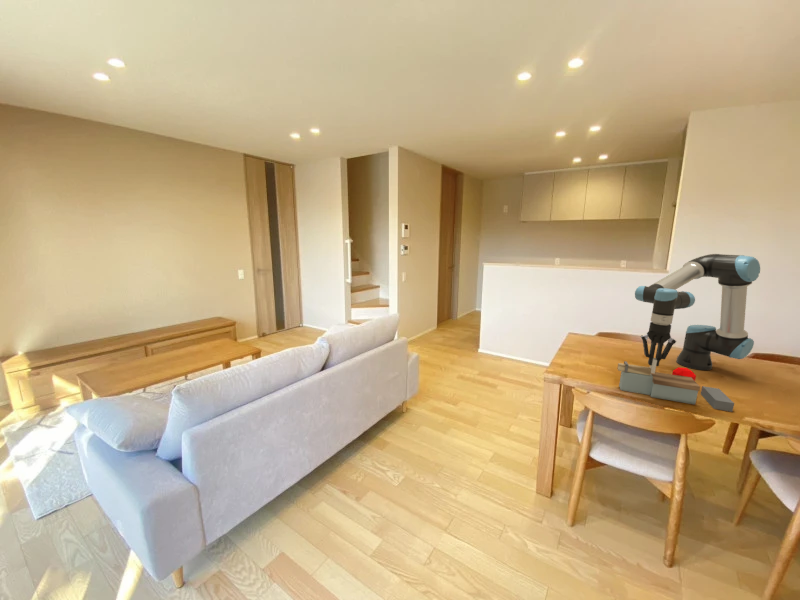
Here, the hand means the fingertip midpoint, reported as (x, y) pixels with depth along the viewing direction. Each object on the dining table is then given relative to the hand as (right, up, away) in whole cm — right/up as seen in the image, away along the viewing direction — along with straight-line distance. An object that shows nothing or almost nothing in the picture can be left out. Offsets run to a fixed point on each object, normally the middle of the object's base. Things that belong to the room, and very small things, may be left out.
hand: (651, 371), depth 152 cm
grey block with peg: (-5, -10, +5) cm, 12 cm away
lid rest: (+24, -12, -6) cm, 27 cm away
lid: (+8, -4, -2) cm, 9 cm away
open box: (+8, -11, -1) cm, 13 cm away
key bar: (-6, -1, +3) cm, 7 cm away
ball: (+24, -9, +12) cm, 29 cm away
